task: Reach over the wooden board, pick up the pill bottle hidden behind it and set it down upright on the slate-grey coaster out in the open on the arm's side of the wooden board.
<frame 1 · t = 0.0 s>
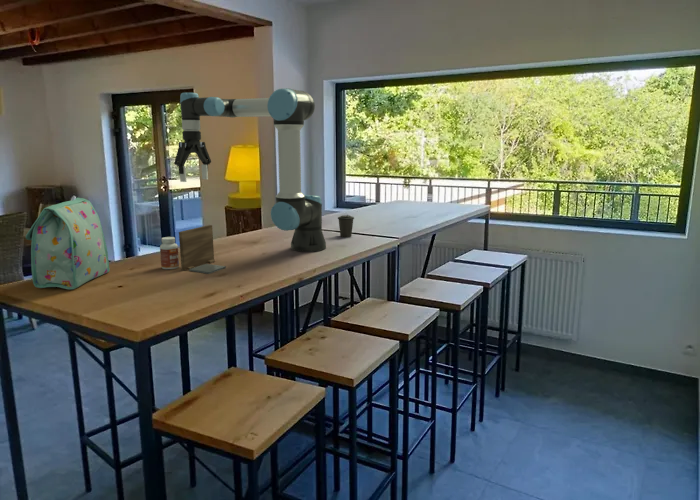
hand: (194, 180, 221), 28 cm above the table, fingers open, 13 cm apart
coaster: (207, 269, 184), on the table
lunch bag: (74, 281, 169), on the table
coffee cup: (345, 236, 245), on the table
wooden board: (198, 265, 189), on the table
pill bottle: (170, 268, 186), on the table
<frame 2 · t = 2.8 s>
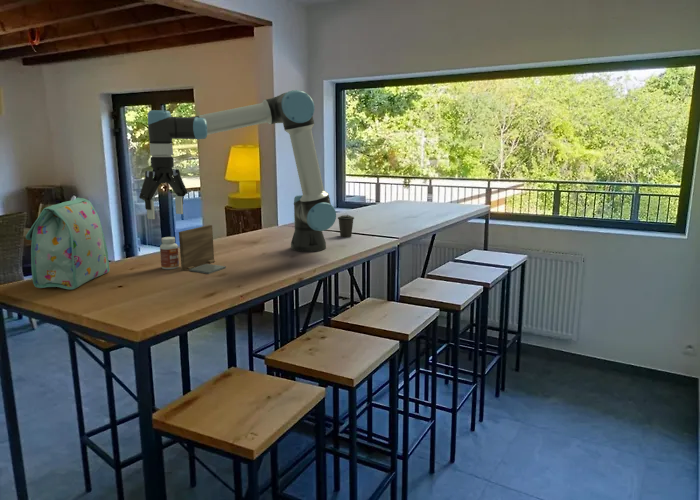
hand: (165, 216, 182), 19 cm above the table, fingers open, 13 cm apart
nothing on the table moved.
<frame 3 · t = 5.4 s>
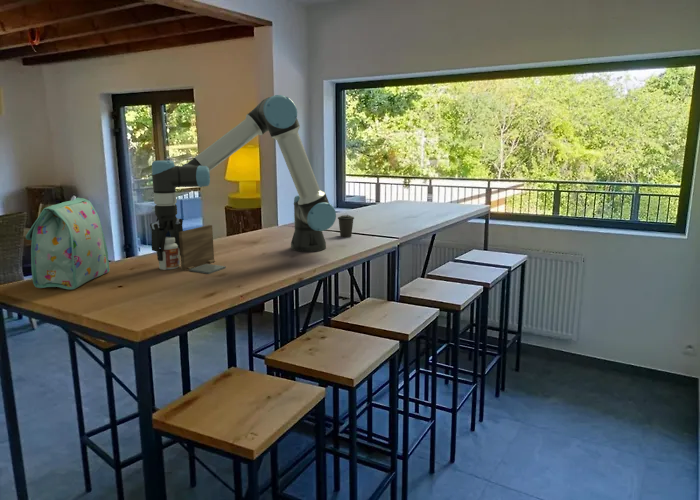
hand: (170, 266, 186), 0 cm above the table, fingers closed on pill bottle, 6 cm apart
pill bottle: (170, 268, 186), on the table, touching gripper
everything else where it was.
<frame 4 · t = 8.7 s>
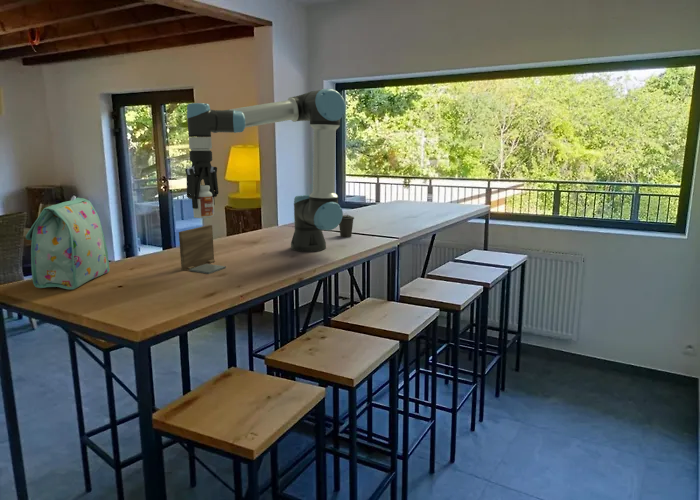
hand: (204, 216, 179), 20 cm above the table, fingers closed on pill bottle, 6 cm apart
pill bottle: (204, 217, 179), point 19 cm above the table, touching gripper
everything else where it was.
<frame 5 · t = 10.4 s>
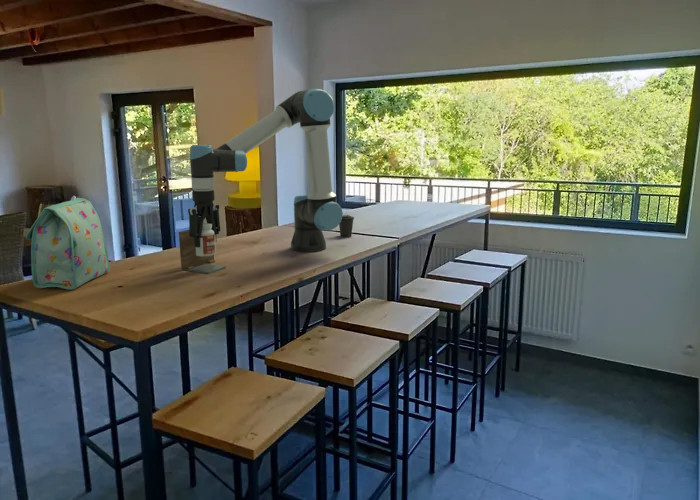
hand: (206, 253, 182), 6 cm above the table, fingers closed on pill bottle, 6 cm apart
pill bottle: (206, 255, 182), point 5 cm above the table, touching gripper
everything else where it was.
when the fingers open (2 cm above the table, at t = 11.8 s): pill bottle drops 1 cm, resting on coaster.
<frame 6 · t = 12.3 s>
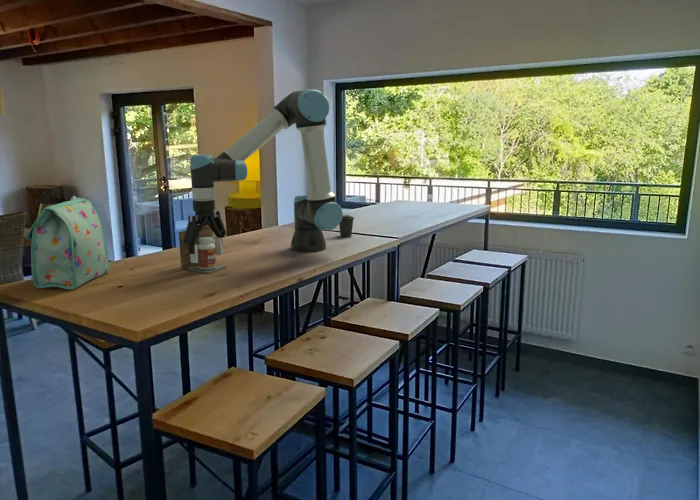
hand: (207, 258, 183), 4 cm above the table, fingers open, 12 cm apart
pill bottle: (207, 268, 183), resting on coaster
everything else where it was.
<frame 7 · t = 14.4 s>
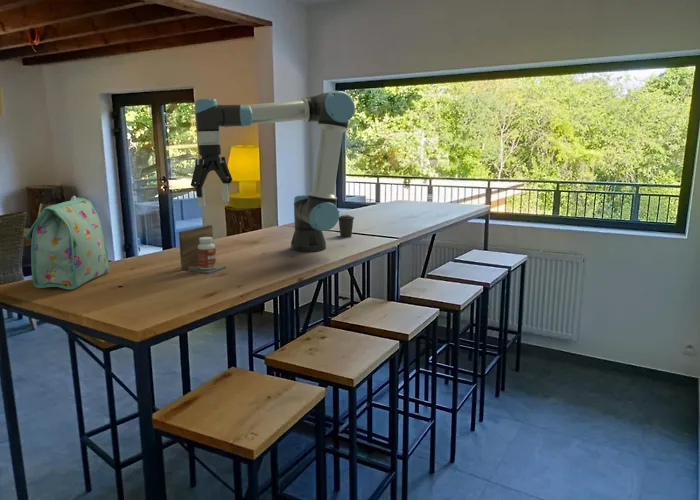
hand: (214, 203, 185), 23 cm above the table, fingers open, 13 cm apart
nothing on the table moved.
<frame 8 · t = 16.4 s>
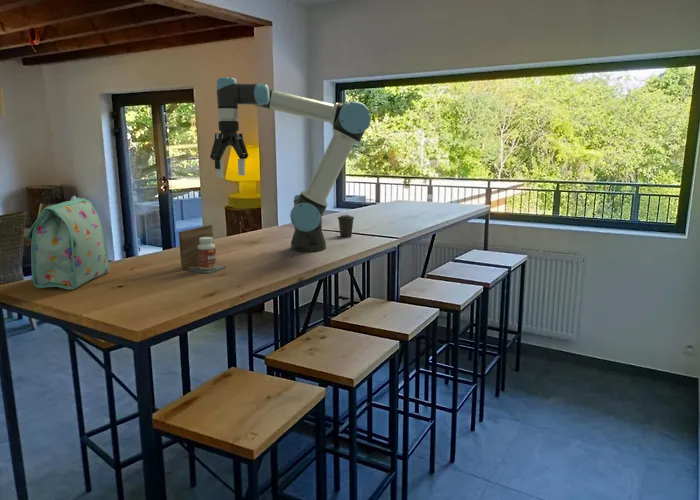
hand: (231, 176, 198), 32 cm above the table, fingers open, 13 cm apart
nothing on the table moved.
at the end: pill bottle 0.2 cm from the coaster (horizontally); pill bottle tilted 0°; the gripper is holding nothing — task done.
